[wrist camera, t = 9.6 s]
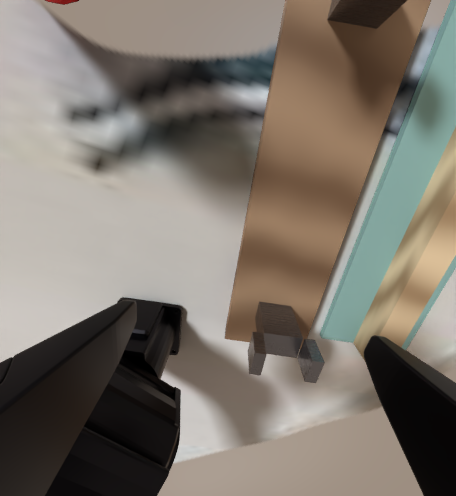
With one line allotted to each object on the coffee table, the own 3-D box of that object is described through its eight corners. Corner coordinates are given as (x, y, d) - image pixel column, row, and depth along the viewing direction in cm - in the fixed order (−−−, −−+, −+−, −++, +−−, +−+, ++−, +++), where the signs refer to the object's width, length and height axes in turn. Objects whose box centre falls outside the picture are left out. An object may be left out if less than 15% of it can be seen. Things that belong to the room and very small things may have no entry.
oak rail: (375, 345, 23) (390, 365, 21) (353, 342, 23) (365, 362, 21) (570, -24, 12) (643, -63, 10) (530, -31, 12) (594, -73, 10)
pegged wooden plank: (295, 324, 21) (315, 382, 16) (245, 317, 21) (249, 373, 16) (407, -15, 12) (550, -162, 7) (322, -31, 12) (395, -192, 7)
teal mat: (401, 345, 24) (405, 350, 23) (319, 334, 23) (321, 338, 23) (608, -6, 13) (625, -13, 13) (463, -32, 13) (473, -41, 12)
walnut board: (298, 338, 24) (302, 349, 22) (225, 328, 24) (225, 338, 22) (439, -63, 13) (464, -91, 11) (301, -89, 12) (309, -120, 11)
